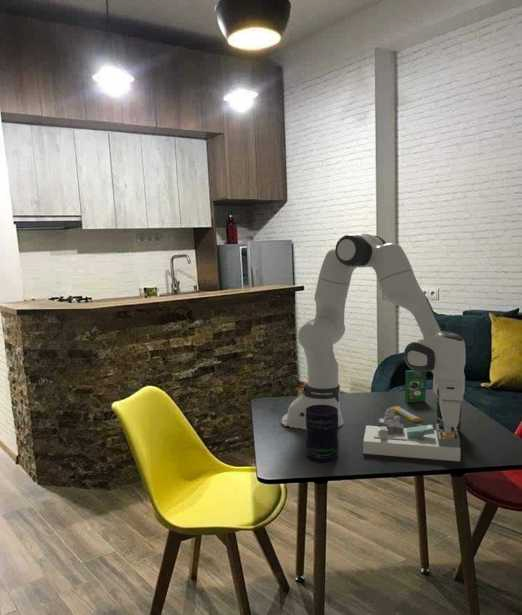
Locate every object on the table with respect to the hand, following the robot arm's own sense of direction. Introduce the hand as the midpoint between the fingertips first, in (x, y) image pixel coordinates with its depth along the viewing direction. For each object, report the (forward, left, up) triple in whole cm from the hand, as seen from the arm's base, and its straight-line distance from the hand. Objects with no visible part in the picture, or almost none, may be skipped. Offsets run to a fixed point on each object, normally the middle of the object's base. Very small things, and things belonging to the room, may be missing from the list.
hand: (447, 431), depth 150 cm
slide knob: (-19, 0, -3) cm, 19 cm away
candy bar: (-11, +35, -8) cm, 38 cm away
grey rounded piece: (-17, +21, -8) cm, 28 cm away
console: (-11, +3, -8) cm, 14 cm away
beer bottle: (+2, +21, -8) cm, 23 cm away
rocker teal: (-8, +3, -2) cm, 9 cm away
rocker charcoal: (-17, +6, -2) cm, 18 cm away
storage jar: (-37, -9, -8) cm, 38 cm away
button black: (0, +7, -2) cm, 7 cm away
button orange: (0, 0, -4) cm, 3 cm away
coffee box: (-8, +53, -8) cm, 55 cm away
